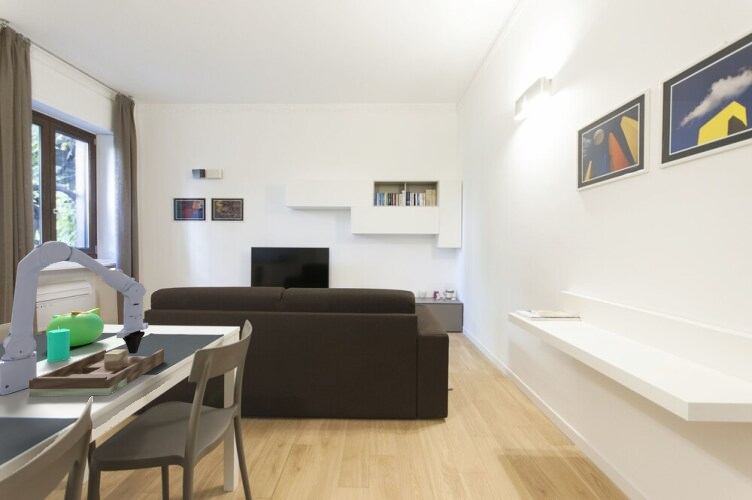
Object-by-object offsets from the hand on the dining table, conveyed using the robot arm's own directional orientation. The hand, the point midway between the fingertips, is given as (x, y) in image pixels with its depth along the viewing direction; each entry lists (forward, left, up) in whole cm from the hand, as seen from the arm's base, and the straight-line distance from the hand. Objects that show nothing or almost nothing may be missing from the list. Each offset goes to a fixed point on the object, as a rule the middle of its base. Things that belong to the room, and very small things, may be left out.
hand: (133, 353), depth 124 cm
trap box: (-13, -5, -3) cm, 14 cm away
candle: (-6, +28, -3) cm, 29 cm away
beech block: (-8, -3, -1) cm, 9 cm away
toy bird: (+8, +41, -3) cm, 42 cm away
